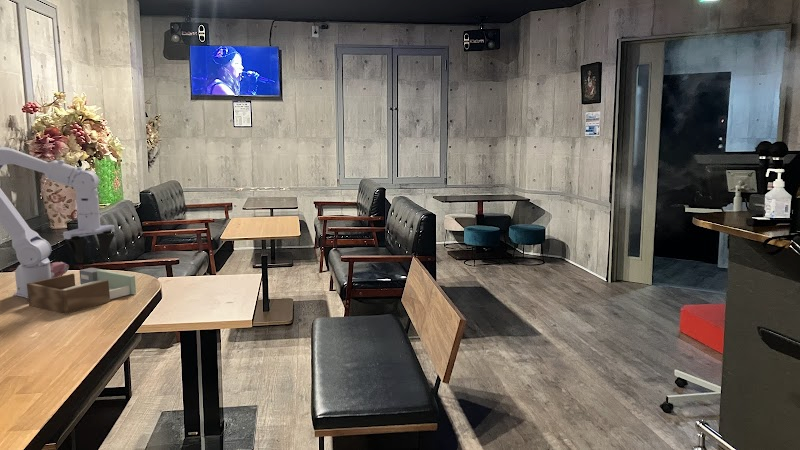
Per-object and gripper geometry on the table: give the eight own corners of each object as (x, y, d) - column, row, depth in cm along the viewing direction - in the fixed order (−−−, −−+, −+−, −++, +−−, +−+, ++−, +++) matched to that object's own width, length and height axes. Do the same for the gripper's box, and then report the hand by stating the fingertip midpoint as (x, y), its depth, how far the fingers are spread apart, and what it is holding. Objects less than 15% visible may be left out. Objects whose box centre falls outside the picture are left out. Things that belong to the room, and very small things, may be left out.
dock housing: (28, 305, 170) (26, 283, 169) (74, 293, 182) (72, 273, 181) (64, 314, 162) (62, 291, 162) (110, 301, 174) (108, 280, 173)
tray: (59, 297, 177) (57, 279, 176) (105, 285, 190) (104, 268, 189) (93, 305, 170) (92, 286, 169) (139, 292, 182) (137, 274, 181)
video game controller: (43, 289, 192) (50, 270, 190) (31, 282, 193) (38, 262, 191) (66, 281, 202) (73, 262, 200) (55, 274, 202) (61, 256, 201)
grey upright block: (93, 289, 187) (91, 272, 186) (80, 286, 190) (79, 270, 189) (105, 285, 191) (104, 269, 190) (93, 283, 194) (91, 267, 193)
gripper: (72, 217, 172) (76, 266, 174) (119, 211, 184) (123, 256, 186) (57, 215, 175) (61, 263, 177) (105, 209, 188) (108, 254, 190)
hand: (92, 259), depth 182 cm, fingers open, 7 cm apart
